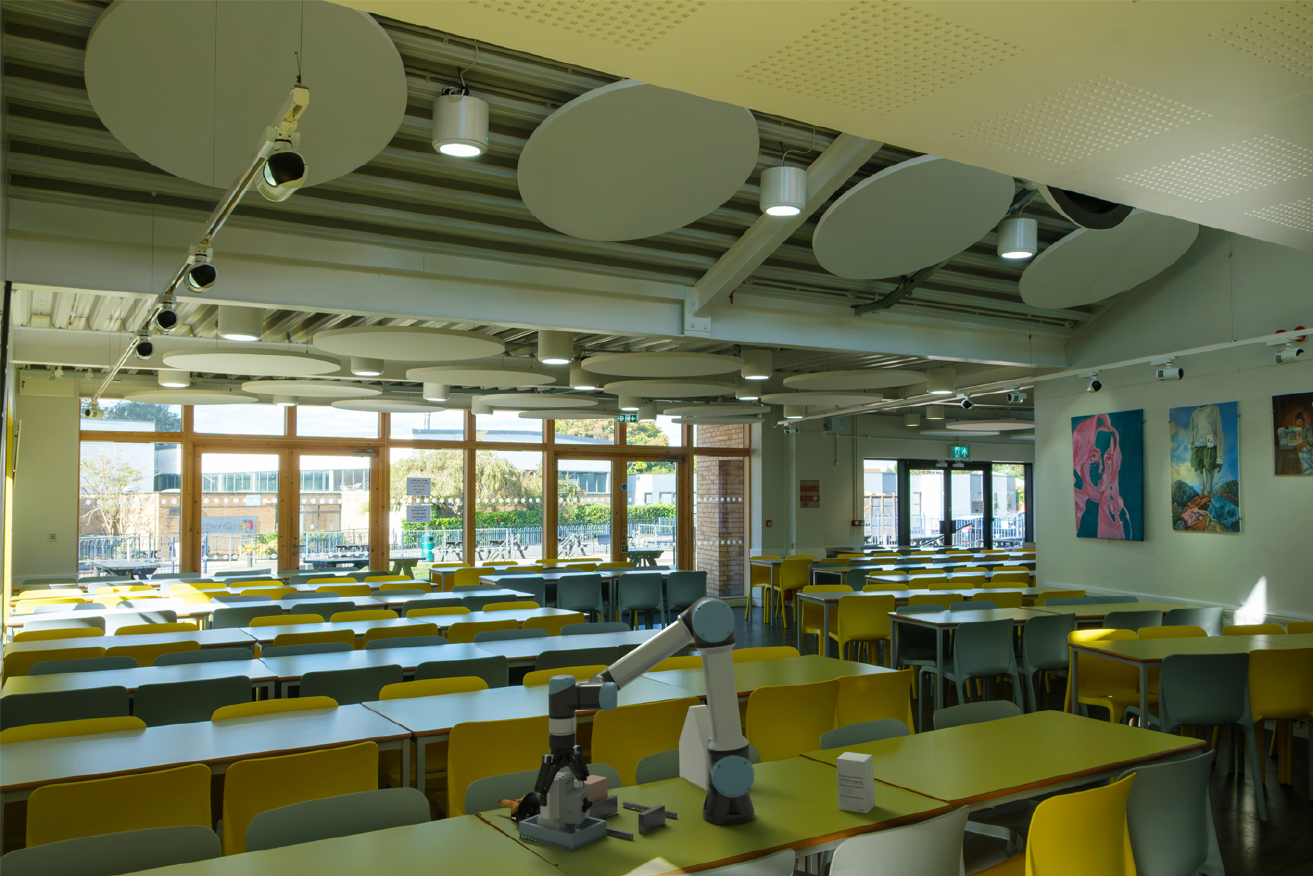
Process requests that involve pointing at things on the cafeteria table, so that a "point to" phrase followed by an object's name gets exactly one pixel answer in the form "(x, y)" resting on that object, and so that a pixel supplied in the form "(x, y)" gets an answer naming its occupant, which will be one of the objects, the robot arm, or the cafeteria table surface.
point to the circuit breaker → (566, 804)
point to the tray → (564, 833)
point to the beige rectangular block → (596, 788)
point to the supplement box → (855, 782)
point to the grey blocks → (646, 819)
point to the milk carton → (695, 746)
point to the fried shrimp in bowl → (522, 806)
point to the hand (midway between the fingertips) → (562, 811)
